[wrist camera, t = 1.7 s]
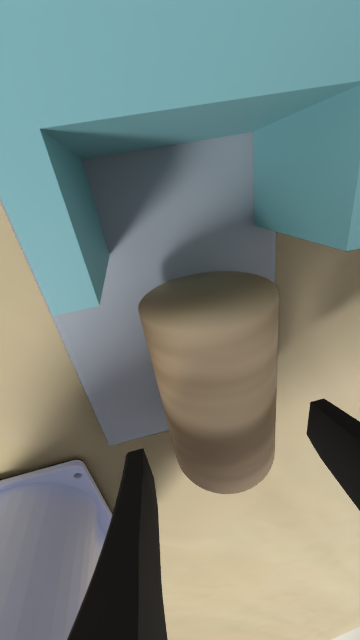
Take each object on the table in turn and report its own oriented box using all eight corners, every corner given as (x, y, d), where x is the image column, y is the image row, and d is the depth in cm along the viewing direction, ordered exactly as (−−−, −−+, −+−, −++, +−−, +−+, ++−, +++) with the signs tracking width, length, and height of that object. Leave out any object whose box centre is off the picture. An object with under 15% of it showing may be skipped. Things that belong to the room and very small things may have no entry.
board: (267, 394, 16) (272, 401, 16) (109, 437, 15) (109, 446, 15) (273, -159, 7) (285, -188, 6) (-141, -140, 6) (-167, -173, 5)
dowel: (246, 395, 15) (296, 473, 11) (167, 418, 15) (188, 509, 10) (241, 263, 11) (313, 305, 7) (133, 287, 11) (145, 348, 7)
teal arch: (277, 221, 11) (382, 243, 6) (83, 260, 10) (53, 315, 6) (280, 59, 8) (452, -82, 4) (27, 93, 8) (-103, -36, 3)
